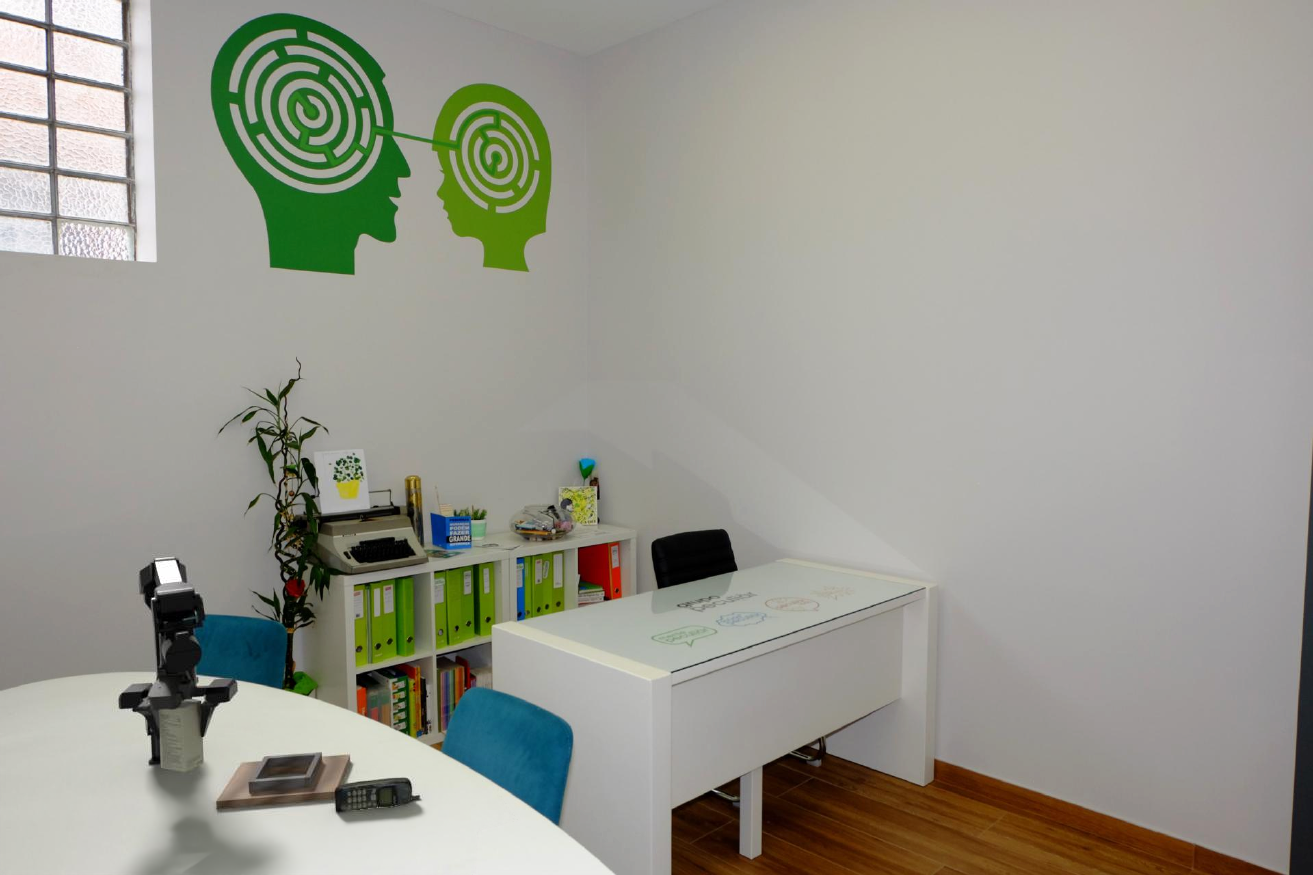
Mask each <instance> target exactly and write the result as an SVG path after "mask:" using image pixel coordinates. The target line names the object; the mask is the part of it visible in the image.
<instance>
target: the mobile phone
mask: <svg viewBox="0 0 1313 875" xmlns="http://www.w3.org/2000/svg"><path fill="white" fill-rule="evenodd" d="M420 798H421V796H420V795H419V794H418V795H413V785H412V782H411V780H410V779H409V778H408V777H388V778H380V779H379V778H378V779H371V780H361V781H360V780H359V781H355V782H354V781H353V782H348V783H343V784H341V785H340V786H338V787H337V788H336V789H335V799H334V808H335V809H334V810H335V812H336V813H346V812H353V810H356V811H361V810H360V809H364V810H369V809H368V808H374V809H380V808H379V807H388V808H392V807H391V806H393V807H396V806H395V805H397V806H400V805H403V804H405V803H408V802H409V801H412V800H411V799H414V800H418V799H419V800H420ZM377 807H378V808H377Z"/></svg>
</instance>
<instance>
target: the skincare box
mask: <svg viewBox="0 0 1313 875" xmlns="http://www.w3.org/2000/svg"><path fill="white" fill-rule="evenodd" d="M201 704H202V700H201V699H196V698H195V699H193V698H192V699H188V700H184V701H182V702H181V705H180V707H179V708H177V709H174V710H170V709H161V710H159V732H160V757H161V763H160V768H161V769H166V770H171V771H177V772H181V773H187V772H188V771H191V770H193V769H195V768H197V767H198V766H201V765H202V764H204V737H201V709H200V705H201Z"/></svg>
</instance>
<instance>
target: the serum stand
mask: <svg viewBox="0 0 1313 875" xmlns="http://www.w3.org/2000/svg"><path fill="white" fill-rule="evenodd" d="M350 763H351V754H348V753H347V754H336V755H323V752H322V751H319V752H308V753H307V752H306V753H292V754H281V755H280V754H278V755H267V756H266V755H265V756H263V758H262V759H261V760H259V761H256V760H255V761H246V762H245V761H243V762H241V763H240V764H239V766H238V767H237V769H236V770H235V772H234V773H233V775H232V776H231V777H230V779H229V781H228V783H227V784H226V786H225V787H224V789H223V790H222V792H221V793H220V794H219V796H218V798H217V799H216V801H215V804H216V808H215V809H216V810H222V809H230V808H232V809H233V808H243V807H244V808H246V807H256V806H257V807H258V806H269V805H270V806H271V805H281V804H291V803H306V802H316V801H329V800H335V789H336V788H337V787H338V786H340V785H343V784H342V783H343V781H344V779H343V778H345V776H346V774H347V771H348V768H349V766H350ZM289 773H290V774H298V773H299V774H301V773H305V775H294V776H293V775H292V776H291V775H290V774H289ZM287 774H289V775H290V776H281V777H278V776H277V777H269V776H274V775H275V776H276V775H287Z"/></svg>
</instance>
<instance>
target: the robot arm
mask: <svg viewBox="0 0 1313 875" xmlns="http://www.w3.org/2000/svg"><path fill="white" fill-rule="evenodd" d="M186 568H187V567H186V565H185V564H183V563H181V562H180V558H179V557H178V556H165V557H156V558H153V559H150V561H149V564H148V565H146V566H144V568H142V569H140V570H139V572H138V590H139V595H140V596H142V597H143V598H142V599H143V603H144V604H145V605H146V607H147V608H148V609H149V610H150V611H151V619H152V626H153V641H154V657H155V658H154V659H155V660H154V662H155V673H156V674H155V675H156V677H155V678H156V679H155V681H154V683H152V682H146V683H145V682H143V683H131V685H129V686H128V687H127V688H126V689H125V690H123V691H122V693H120V694H119V696H118V700H117V701H118V709H119V710H130V709H131V711H132V712H133V713H138V714H140V715H141V716H143V717H144V720H145V721H144V722H145V724H144V725H145V731H146V735H147V737H150V748H151V749H150V750H151V757H150V759H149V760H148V764H150V765H151V764H161V757H160V732H159V710H161V709H170V710H174V709H177V708H179V707H180V705H181V702H182V701H184V700H188V699H193V698H201V697H203V702H201V705H200V709H201V737H203V738H204V737H205V736H206V734H207V732H208V729H209V725H210V723H211V720H212V717H213V715H214V712H215V710H216V707H218V706H220V704H224V703H225V704H226V703H229V702H231V700H232V699H233V697H234V696H235V695H236V694H237V693H238V691H239V689H238V687H239V685H238V682H237V680H236V679H235V678H233V677H231V678H214V679H213V681H211V682H210V684H209V685H198V684H199V676H197V666H198V664H200V662H201V660H202V656H203V650H202V647H201V646H200V643H199V642H198V640H197V638H196V636H195V635H196V634H195V629H199V628H203V627H204V624H203V623H204V621H205V622H206V613H205V606H204V601H203V597H201V594H200V592H198V591H196V590H195V587H194V585H192V584H191V583H190V582H189V583H188V577H187V569H186Z"/></svg>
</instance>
